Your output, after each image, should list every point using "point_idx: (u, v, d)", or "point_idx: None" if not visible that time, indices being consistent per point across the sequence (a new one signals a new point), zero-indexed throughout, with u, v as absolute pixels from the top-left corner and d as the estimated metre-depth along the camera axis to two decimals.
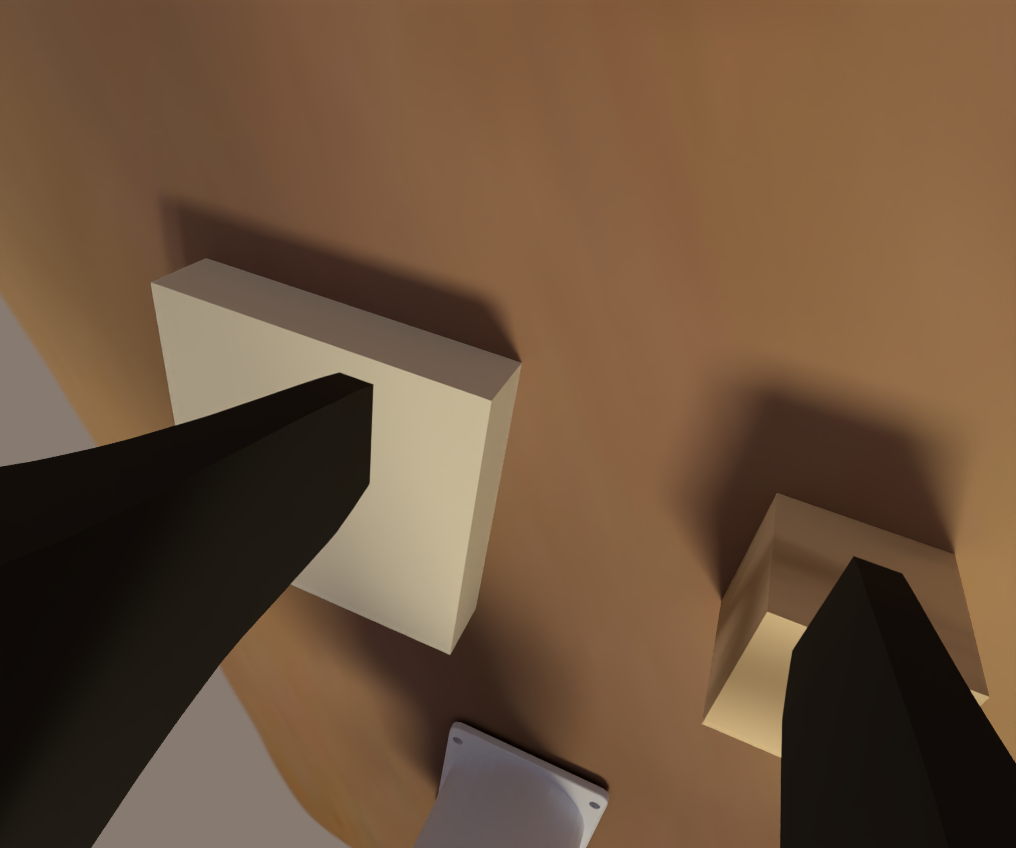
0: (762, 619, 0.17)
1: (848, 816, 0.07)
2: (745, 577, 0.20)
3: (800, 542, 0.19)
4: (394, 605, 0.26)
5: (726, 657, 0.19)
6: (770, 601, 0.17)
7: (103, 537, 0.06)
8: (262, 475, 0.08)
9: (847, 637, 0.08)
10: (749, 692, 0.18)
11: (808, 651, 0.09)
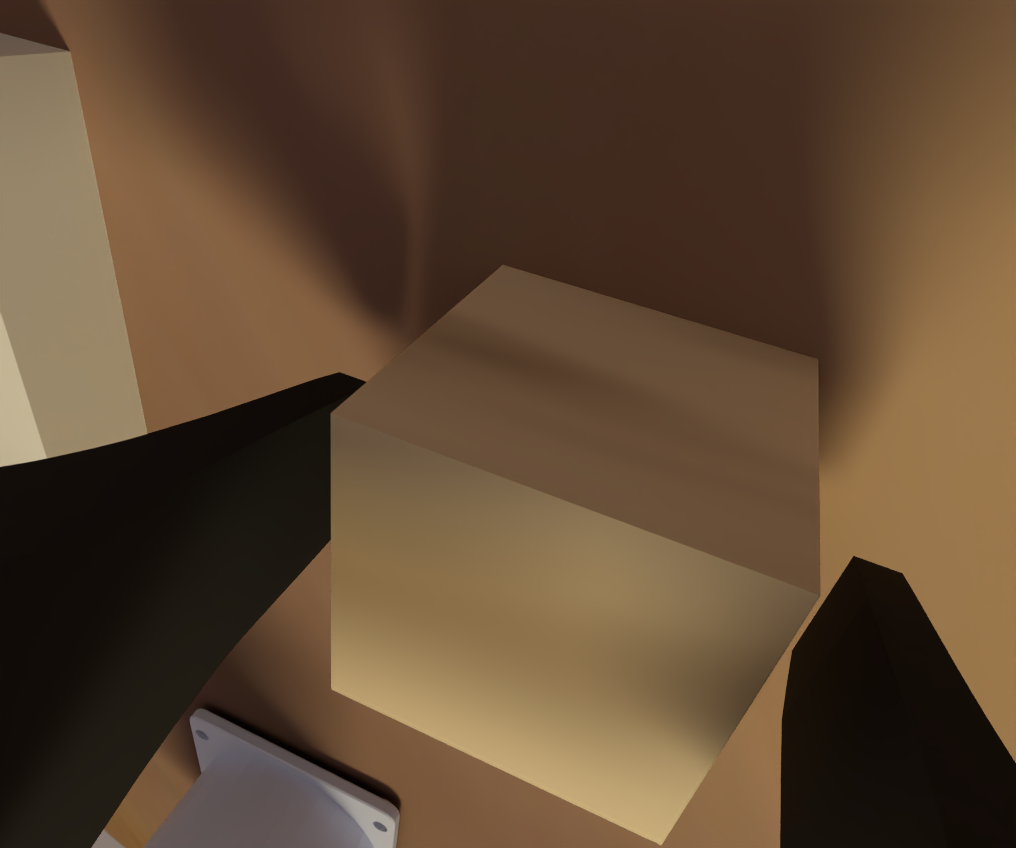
0: (331, 436, 0.07)
1: (848, 816, 0.07)
2: None
3: (502, 322, 0.09)
4: None
5: None
6: (356, 397, 0.07)
7: (103, 537, 0.06)
8: (262, 475, 0.08)
9: (847, 637, 0.08)
10: (374, 619, 0.09)
11: (808, 651, 0.09)
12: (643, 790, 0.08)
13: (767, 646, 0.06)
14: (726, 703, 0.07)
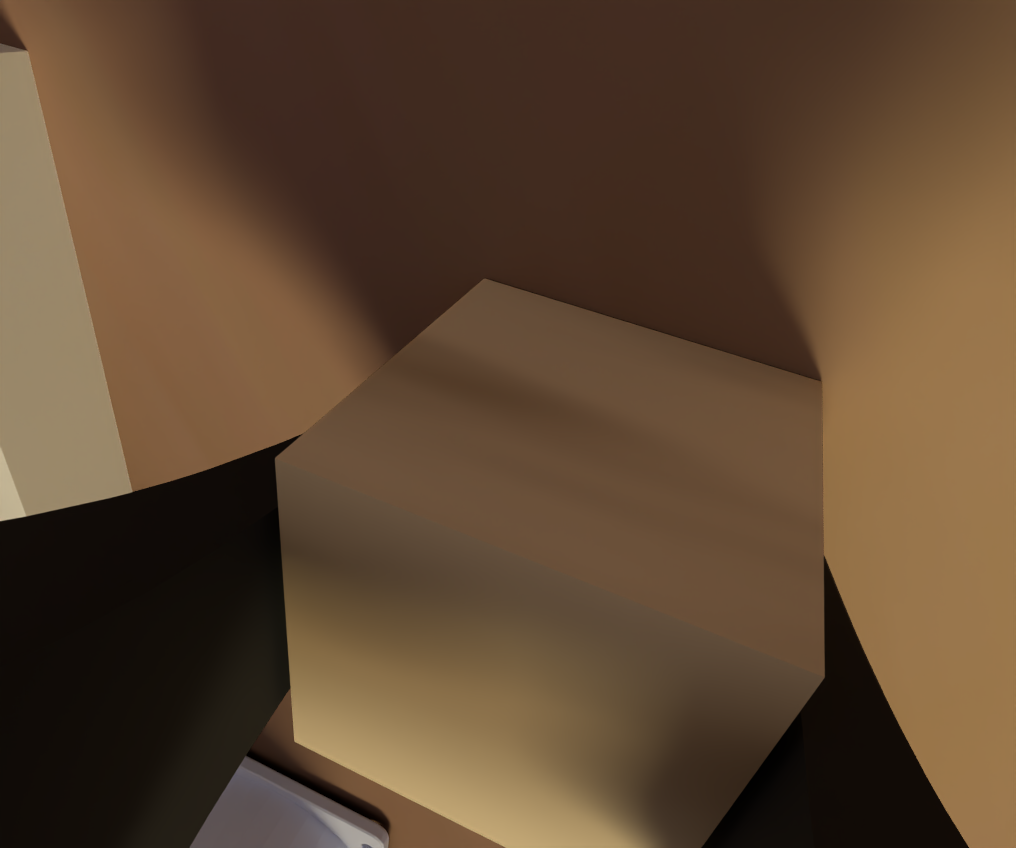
0: (278, 482, 0.06)
1: None
2: None
3: (477, 347, 0.08)
4: None
5: None
6: (306, 438, 0.07)
7: (194, 579, 0.06)
8: None
9: None
10: (333, 673, 0.08)
11: None
12: None
13: (764, 727, 0.06)
14: (718, 783, 0.06)
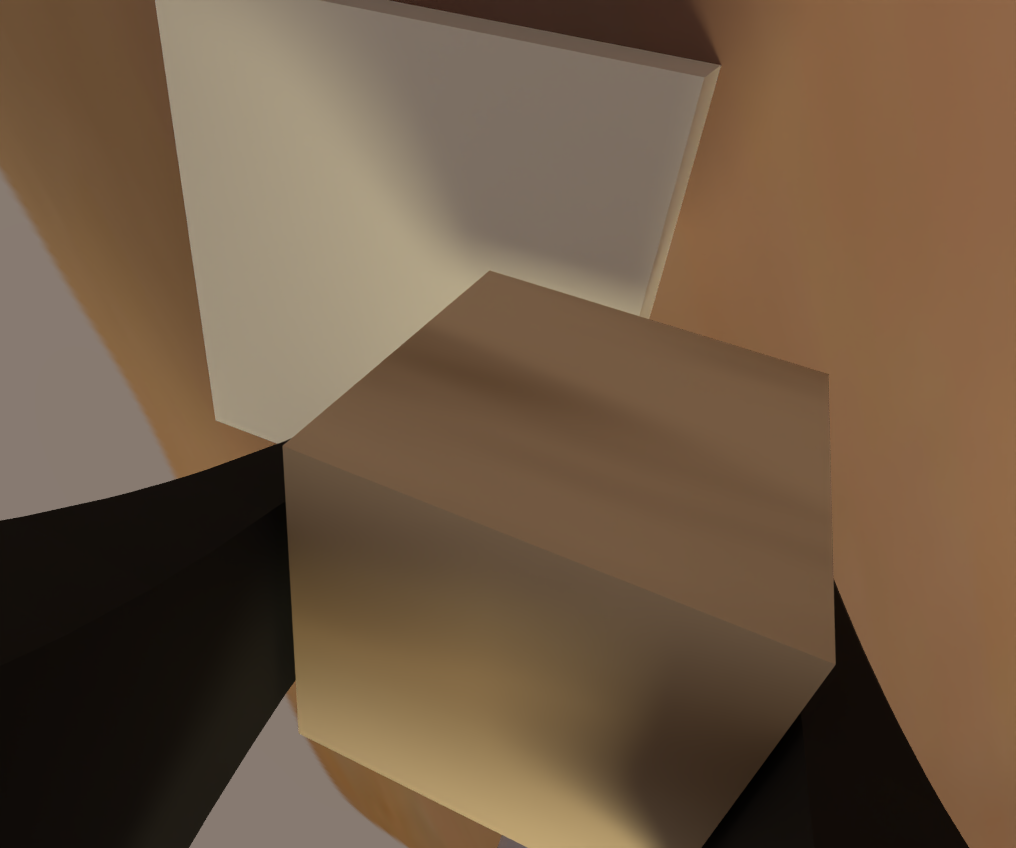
0: (286, 471, 0.06)
1: None
2: None
3: (483, 337, 0.08)
4: None
5: None
6: (314, 426, 0.07)
7: (193, 578, 0.06)
8: None
9: None
10: (340, 663, 0.08)
11: None
12: None
13: (774, 715, 0.06)
14: (727, 772, 0.06)
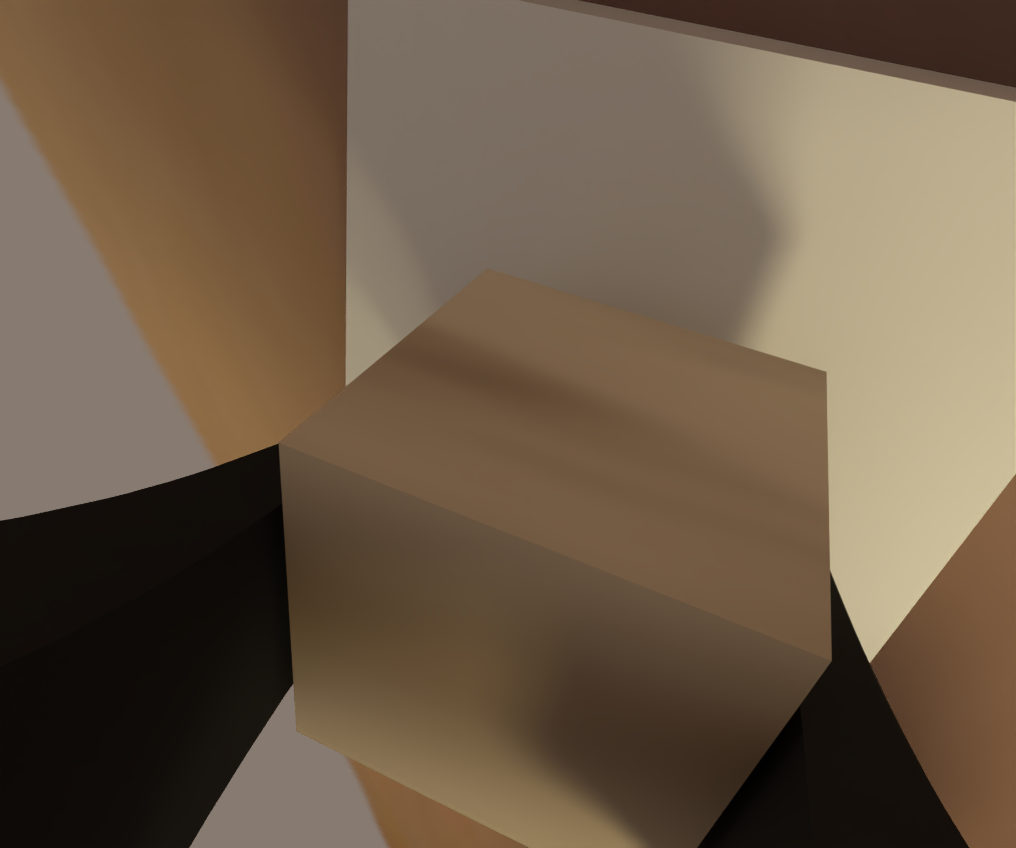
0: (281, 467, 0.06)
1: None
2: None
3: (480, 335, 0.08)
4: None
5: None
6: (311, 422, 0.07)
7: (193, 578, 0.06)
8: None
9: None
10: (337, 662, 0.08)
11: None
12: None
13: (770, 712, 0.06)
14: (723, 769, 0.06)
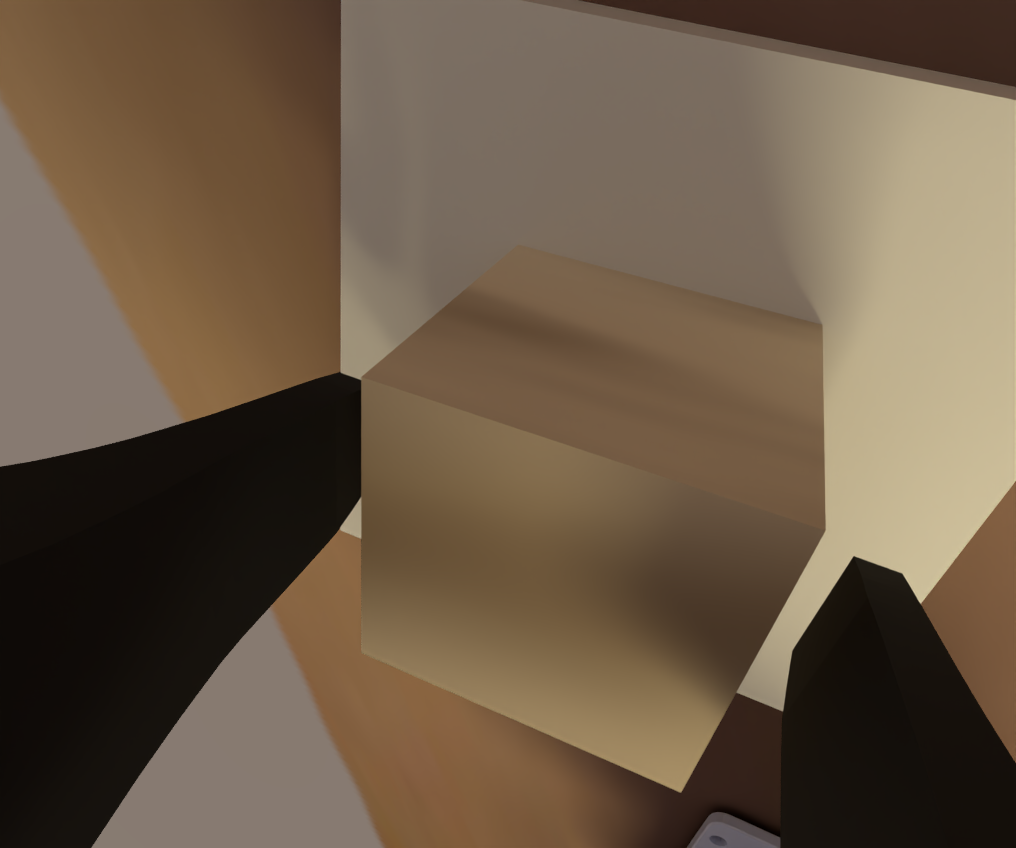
0: (362, 399, 0.08)
1: (848, 816, 0.07)
2: None
3: (518, 297, 0.10)
4: None
5: None
6: (384, 362, 0.08)
7: (102, 537, 0.06)
8: (262, 475, 0.08)
9: (847, 637, 0.08)
10: (402, 578, 0.09)
11: (808, 651, 0.09)
12: (662, 737, 0.09)
13: (777, 584, 0.07)
14: (740, 644, 0.07)
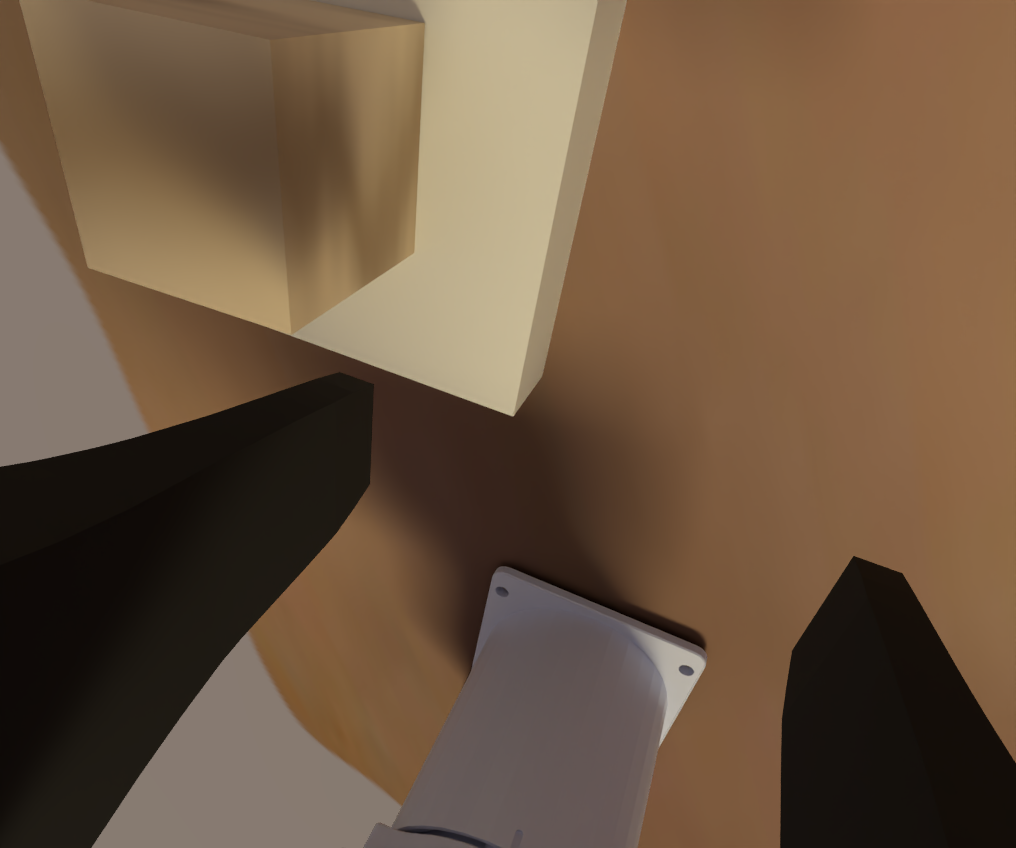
0: (22, 7, 0.11)
1: (848, 816, 0.07)
2: None
3: None
4: (435, 340, 0.18)
5: None
6: None
7: (103, 537, 0.06)
8: (262, 475, 0.08)
9: (847, 637, 0.08)
10: (88, 176, 0.13)
11: (808, 651, 0.09)
12: (264, 279, 0.12)
13: (266, 98, 0.11)
14: (268, 164, 0.11)
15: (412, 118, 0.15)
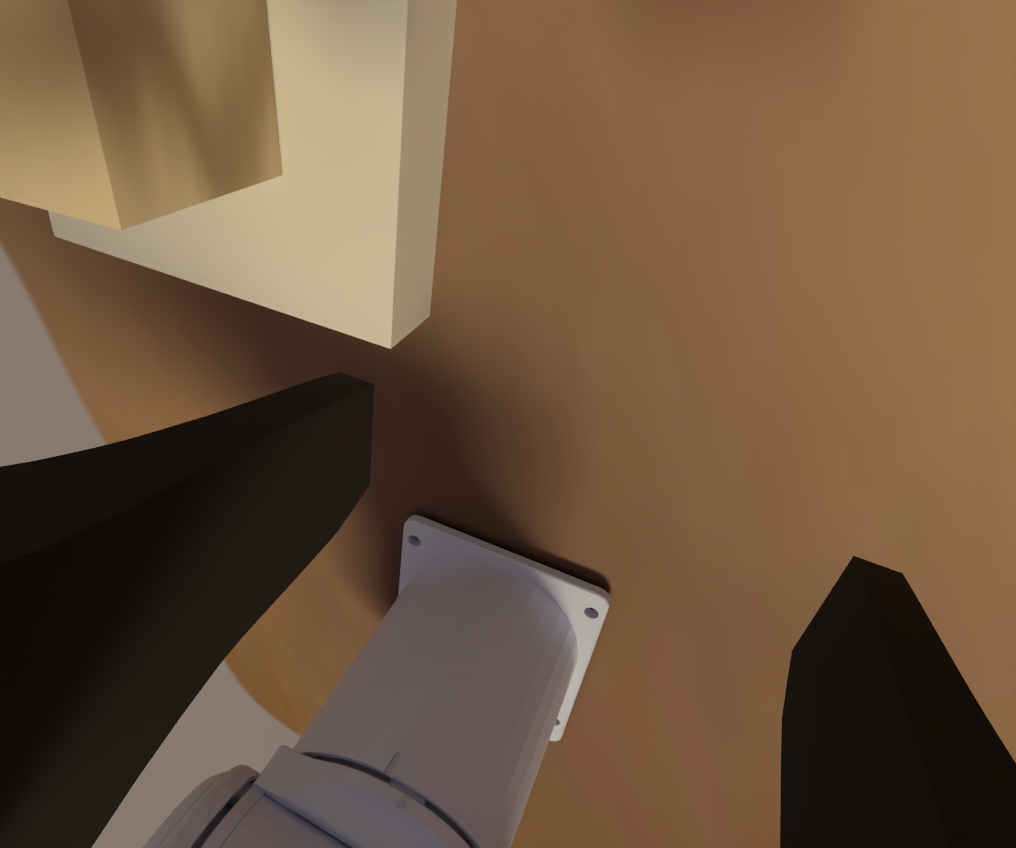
0: None
1: (848, 816, 0.07)
2: None
3: None
4: (311, 275, 0.18)
5: None
6: None
7: (103, 537, 0.06)
8: (262, 475, 0.08)
9: (847, 637, 0.08)
10: None
11: (808, 651, 0.09)
12: (88, 172, 0.13)
13: None
14: (69, 46, 0.11)
15: (257, 31, 0.15)
